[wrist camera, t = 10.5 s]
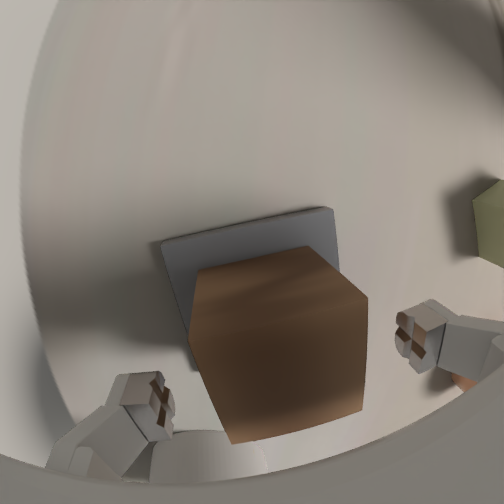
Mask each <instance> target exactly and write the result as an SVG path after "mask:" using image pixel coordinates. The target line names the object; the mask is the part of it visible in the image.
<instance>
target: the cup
mask: <svg viewBox="0 0 504 504" xmlns="http://www.w3.org/2000/svg"><path fill="white" fill-rule="evenodd" d="M266 473H268V469H267V464H266V459H265V454H264V451H263V449H262V448H261V447H260V446H259V445H258V444H257V443H256V442H254V441H251V442H246V443H240V444H234V445H231V442H230V440H229V438H228V436H227V434H226V432H222V431H211V430H196V431H186V432H180V433H175V434H173V435H172V440H166V441H158V442H157V443H156V444H155V446H154V448H153V453H152V460H151V468H150V476H149V483H191V482H207V481H218V480H227V479H235V478H242V477H249V476H255V475H260V474H266Z"/></svg>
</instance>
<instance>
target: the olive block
mask: <svg viewBox="0 0 504 504" xmlns="http://www.w3.org/2000/svg"><path fill="white" fill-rule="evenodd" d="M472 203H473V209H474V216H475V223H476V231H477V241H478V253H479V257H480V258H483V259H485V260H487V261H489V262H491V263H494V264H496V265H498V266H500V267H502V268H504V180H499V181H498V182H497V183H495V184H494V185H493V186H491V187H490V188H489V189H487V190H486V191H485V192H483V193H482V194H480V195H479V196H478V197H476V198H475V199H473V200H472Z"/></svg>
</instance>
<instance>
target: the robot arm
mask: <svg viewBox="0 0 504 504" xmlns="http://www.w3.org/2000/svg"><path fill="white" fill-rule="evenodd" d="M396 324H397V325H398V326H399V328H398V329H397V331H396V333H395V344H396V348H397V350H398V352H399V353H400V355H401V356H402V357H405V358H408V359H409V364H410V365H411V367H412V368H413V369H414V370H415V371H416V372H417V373H418V374H420V373H423V372H425V371H427V370H429V369H431V368H433V367H435V366H437V367H439V368H442V369H445V370H447V371H450V372H452V373H455V374H457V375H460V376H463V377H465V378H468V379H471V380H473V381H476V382H477V384H476V385H475V386H473V387H472V388H470V389H469V390H467V391H466V392H464V393H463V394H461V395H460V396H458V397H457V398H455V399H454V400H452V401H451V402H449V403H447V404H446V405H444V406H442V407H441V408H439V409H437V410H436V411H434V412H432V413H430V414H429V415H427V416H425V417H423V418H421V419H419V420H418V421H416V422H414V423H412V424H410V425H408V426H406V427H404V428H402V429H400V430H398V431H395V432H393V433H391V434H389V435H387V436H385V437H382V438H380V439H378V440H375V441H373V442H370V443H368V444H366V445H363V446H360V447H358V448H355V449H352V450H350V451H347V452H344V453H341V454H338V455H335V456H332V457H329V458H326V459H323V460H319V461H316V462H312V463H309V464H305V465H301V466H297V467H293V468H289V469H285V470H280V471H276V472H271V473H266V474H260V475H255V476H249V477H242V478H235V479H227V480H218V481H207V482H191V483H140V482H125V481H124V480H122V479H121V477H122V476H123V475H124V474H125V472H126V471H127V470H128V469H129V467H130V466H131V465H132V463H133V462H134V461H135V460H136V458H137V457H138V456H139V455H140V453H141V452H142V451H143V449H144V448H145V447H146V446H147V444H148V442H151V441H166V440H172V435H173V426H174V425H173V423H172V421H171V419H172V418H173V417H174V416H175V402H174V398H173V395H172V393H171V391H170V389H168V388H167V387H165V386H164V383H165V379H164V377H163V375H162V373H161V372H159V371H152V372H140V373H132V374H131V373H129V374H119V375H117V376H116V378H115V381H114V383H113V386H112V388H111V391H110V393H109V396H108V399H107V401H106V404H105V406H100V407H99V408H98V409H97V410H95V411H94V412H93V413H92V414H90V415H89V416H88V417H87V418H85V419H84V420H83V421H82V422H80V423H79V424H78V425H77V426H75V427H74V428H73V429H72V430H70V431H69V432H68V433H66V434H65V435H64V436H63V437H61V438H60V439H59V440H57V441H56V442H55V444H54V447H53V449H52V452H51V454H50V456H49V459H48V461H47V464H46V466H45V468H43V467H39V466H35V465H32V464H28V463H25V462H22V461H19V460H16V459H13V458H10V457H7V456H5V455H2V454H0V504H504V322H502V321H495V320H489V319H482V318H476V317H470V316H464V315H461V316H458V315H456V314H455V313H453V312H452V311H450V310H449V309H447V308H446V307H445V306H443V305H442V304H440V303H439V302H437V301H436V300H434V299H429V300H427V301H425V302H422V303H420V304H419V305H416V306H414V307H411V308H409V309H406V310H403V311H401V312H398V314H397V317H396Z"/></svg>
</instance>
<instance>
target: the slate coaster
mask: <svg viewBox="0 0 504 504" xmlns="http://www.w3.org/2000/svg"><path fill="white" fill-rule="evenodd" d="M304 246H310V247H311V248H312V249H313V250H314V251H315V252H317V253H318V254H319V255H320V256H321V257H322V258H324V259H325V260H326V261H327V262H328V263H329V264H331V265H332V266H333V267H334V268H335V269H336V270H337V271H339V272H340V270H339V258H338V247H337V237H336V228H335V219H334V211H333V209H331V208H329V207H321V208H316V209H311V210H306V211H301V212H295V213H290V214H285V215H280V216H276V217H271V218H266V219H261V220H256V221H251V222H247V223H242V224H237V225H233V226H228V227H223V228H219V229H214V230H210V231H205V232H201V233H197V234H192V235H188V236H183V237H179V238H175V239H171V240H166V241H163V243H162V244H161V246H160V248H161V251H162V255H163V258H164V262H165V265H166V269H167V272H168V275H169V279H170V282H171V285H172V288H173V291H174V295H175V298H176V301H177V304H178V307H179V310H180V313H181V316H182V319H183V322H184V325H185V328H186V330H187V333H188V336H189V328H190V321H191V314H192V307H193V300H194V294H195V287H196V281H197V275H198V270H200V269H204V268H209V267H213V266H218V265H223V264H227V263H232V262H236V261H241V260H245V259H250V258H254V257H259V256H264V255H268V254H273V253H277V252H282V251H286V250H291V249H295V248H300V247H304Z"/></svg>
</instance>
